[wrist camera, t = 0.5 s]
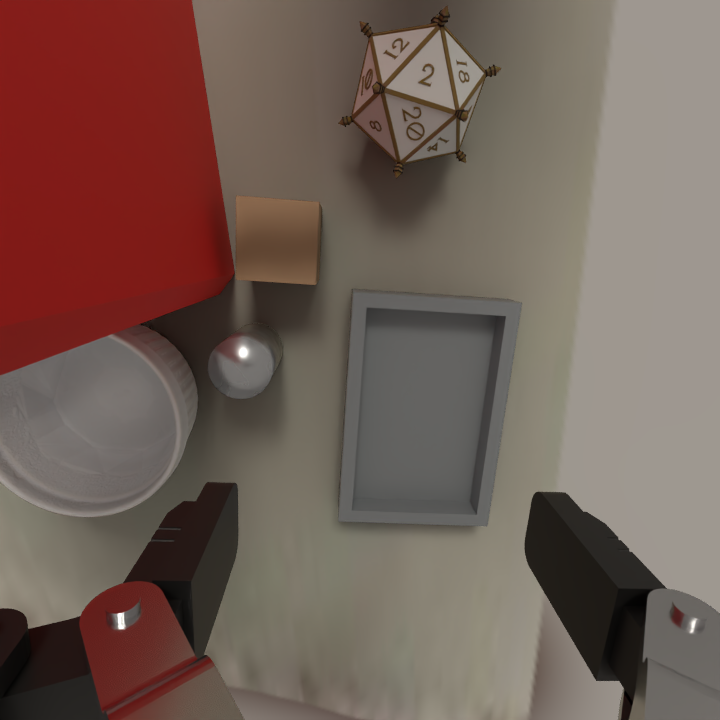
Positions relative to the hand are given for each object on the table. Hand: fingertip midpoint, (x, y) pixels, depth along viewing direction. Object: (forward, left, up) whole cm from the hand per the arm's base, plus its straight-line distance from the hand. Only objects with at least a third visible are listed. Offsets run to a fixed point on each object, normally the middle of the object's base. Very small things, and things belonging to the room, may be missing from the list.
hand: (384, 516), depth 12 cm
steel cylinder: (+1, -8, -23) cm, 24 cm away
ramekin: (+5, -18, -23) cm, 29 cm away
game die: (-16, +2, -23) cm, 28 cm away
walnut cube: (-7, -6, -23) cm, 25 cm away
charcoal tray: (+5, +5, -23) cm, 24 cm away
